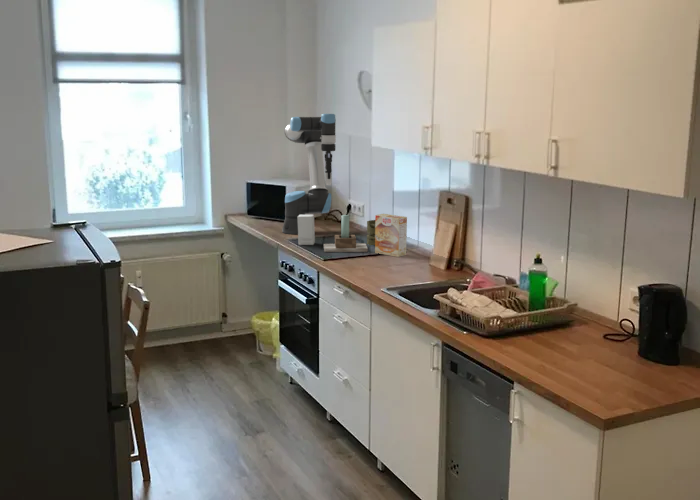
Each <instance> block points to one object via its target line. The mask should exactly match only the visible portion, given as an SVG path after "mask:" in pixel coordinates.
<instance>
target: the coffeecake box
mask: <svg viewBox="0 0 700 500" xmlns="http://www.w3.org/2000/svg"><path fill="white" fill-rule="evenodd" d="M374 220H375V246H374V254H378V253H379V254H380V255H385V256H390V257H396V258H397V257H398V258H400V257H403V256H407V236H408V235H407V232H408V229H407V227H408V216H403V215H395V214H390V213H389V214H388V213H380V214H376V215H375V219H374Z"/></svg>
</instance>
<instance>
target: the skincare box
mask: <svg viewBox="0 0 700 500" xmlns="http://www.w3.org/2000/svg"><path fill="white" fill-rule="evenodd" d="M297 218H298V234H297V236H298V237H297V239H298V245H299V246H314V245H315V243H316V240H315V239H316V238H315V236H316V235H315V233H316V232H315V215H314V214H305V215H299V216H298V217H297Z"/></svg>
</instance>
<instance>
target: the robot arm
mask: <svg viewBox="0 0 700 500" xmlns="http://www.w3.org/2000/svg"><path fill="white" fill-rule="evenodd" d="M289 122H290V123H289V124H287V125H286V127H285V128H284V135H285V137H286V138H287V139H288V140H289V141H291V142H292V143H295V144H296V143H297V144H304V147H305V149H307V160H308V171H309V172H308V173H309V189H308V190H307V193H306V191H305V190H297V191H296V190H295V191H290V192H287V193H286V194H285V197H284V207H285V209H284V216H285V217H284V221H283V225H282V230H281V231H282V233H283V234H288V235H298V218H297V217H298V216H299V215H314V214H329V212H330V210H331V207H332V193H331V192H329V189H328V188H327V187H326V186H332V172H333V170H332V162H333V154H332V153H331V152H335V151H336V144H335V143H336V138H337V137H336V136H337V135H336V124H337V123H336V114H335V113H322V114H320V116H293V117H290V121H289ZM323 152H325V154H324V153H323ZM323 154H324V155H323ZM324 162H325V167H324Z"/></svg>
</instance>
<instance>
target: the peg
mask: <svg viewBox="0 0 700 500" xmlns="http://www.w3.org/2000/svg"><path fill="white" fill-rule="evenodd" d="M340 216H341V222H340V224H341V227H340V228H341V234H340V235H341V238H349V235H350V215H349V214H342V215H340Z"/></svg>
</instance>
